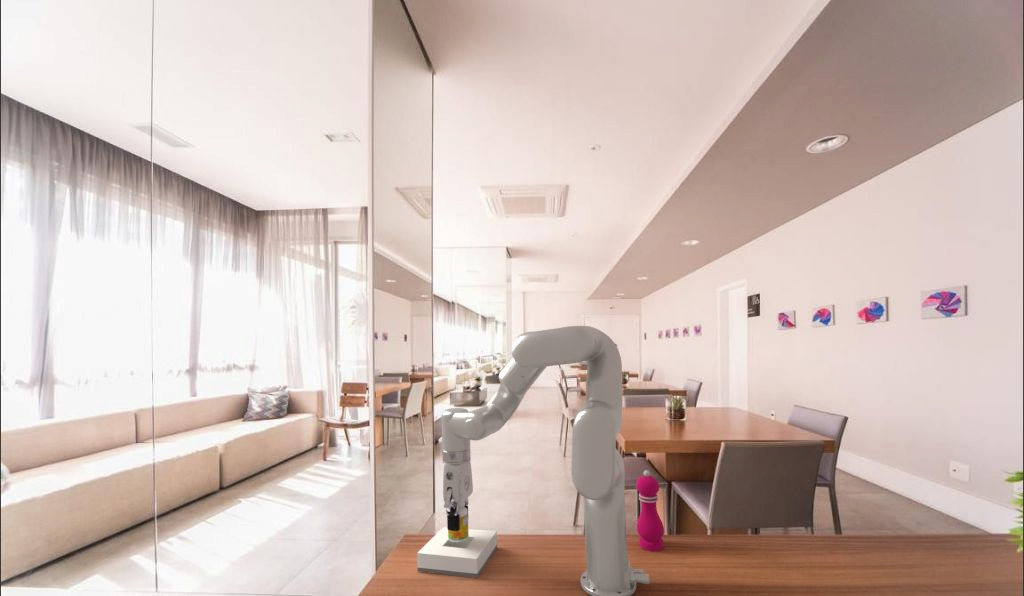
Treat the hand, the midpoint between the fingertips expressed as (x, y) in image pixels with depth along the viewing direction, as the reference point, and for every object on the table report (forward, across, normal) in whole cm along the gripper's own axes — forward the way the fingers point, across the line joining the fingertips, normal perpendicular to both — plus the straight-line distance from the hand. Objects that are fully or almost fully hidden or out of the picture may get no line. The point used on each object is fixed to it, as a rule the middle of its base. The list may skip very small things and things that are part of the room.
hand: (458, 524), depth 121 cm
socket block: (+9, 0, 0) cm, 9 cm away
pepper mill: (+9, +17, -49) cm, 53 cm away
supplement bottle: (+4, 0, 0) cm, 4 cm away
